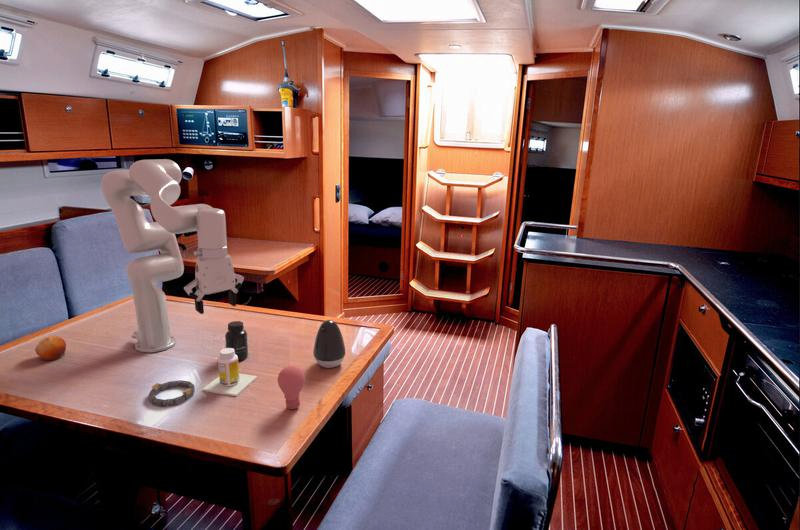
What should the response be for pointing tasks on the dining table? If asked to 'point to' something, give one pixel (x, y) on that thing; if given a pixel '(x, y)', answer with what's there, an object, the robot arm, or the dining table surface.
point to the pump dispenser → (329, 345)
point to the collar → (172, 384)
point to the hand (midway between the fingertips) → (216, 308)
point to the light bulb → (291, 385)
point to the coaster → (230, 390)
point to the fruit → (51, 348)
